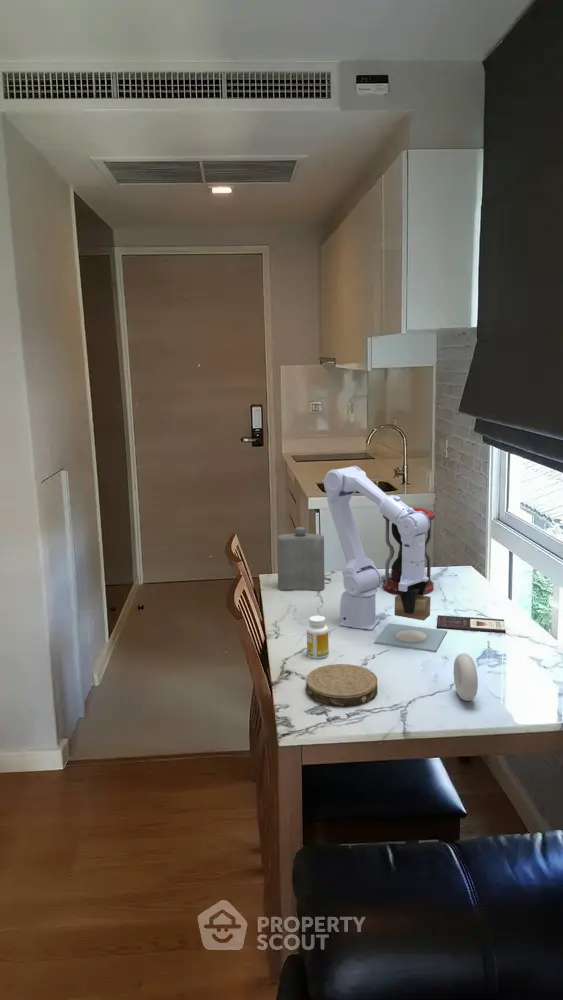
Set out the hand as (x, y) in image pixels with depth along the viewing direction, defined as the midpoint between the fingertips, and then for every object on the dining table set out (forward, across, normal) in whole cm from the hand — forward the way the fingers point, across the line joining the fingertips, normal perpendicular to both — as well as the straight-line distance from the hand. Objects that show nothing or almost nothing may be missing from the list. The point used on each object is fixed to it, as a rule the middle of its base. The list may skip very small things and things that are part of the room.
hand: (412, 610), depth 184 cm
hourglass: (+9, +40, +17) cm, 44 cm away
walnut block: (+1, 0, 0) cm, 1 cm away
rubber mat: (+8, +2, +1) cm, 9 cm away
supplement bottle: (+9, -20, +17) cm, 28 cm away
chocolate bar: (+9, +18, -10) cm, 22 cm away
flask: (+9, +24, +47) cm, 53 cm away
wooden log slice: (+9, -34, +3) cm, 35 cm away
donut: (+8, -25, -22) cm, 34 cm away
